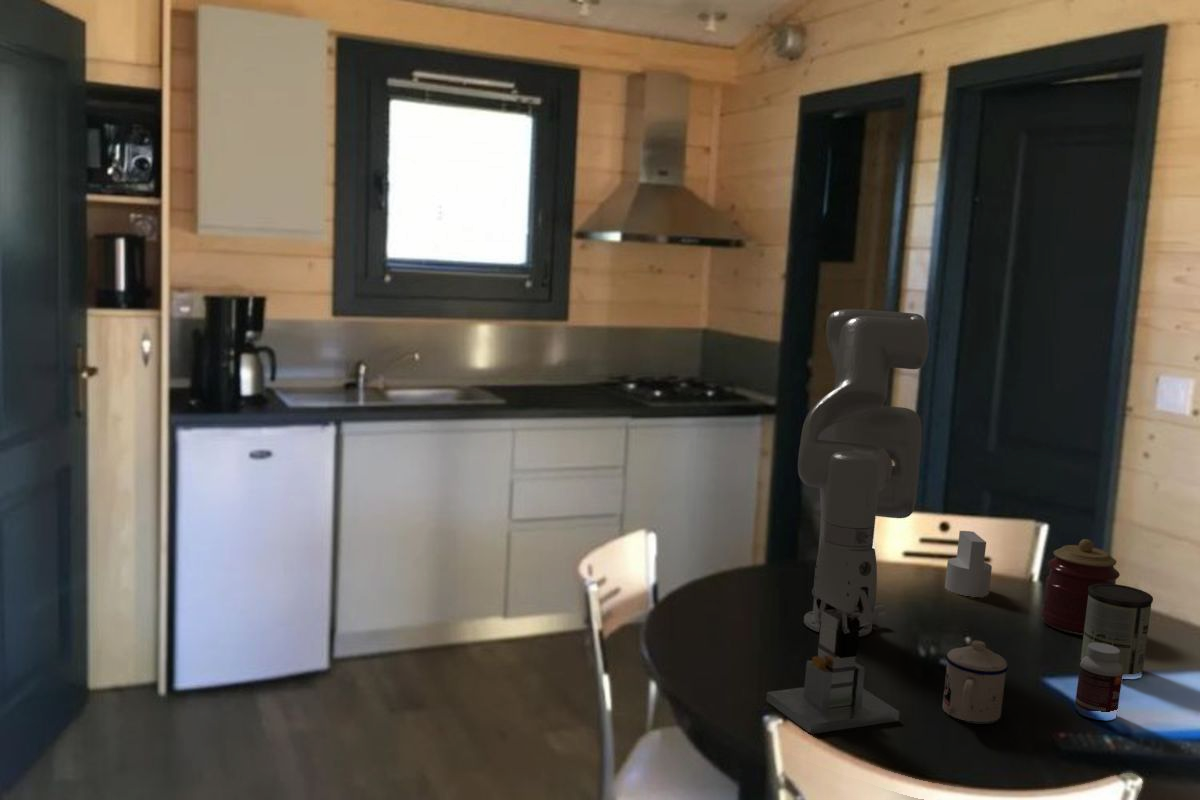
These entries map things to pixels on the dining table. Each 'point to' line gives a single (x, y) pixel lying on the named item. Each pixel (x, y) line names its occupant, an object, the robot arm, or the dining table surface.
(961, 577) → the cylinder with rectangular tab
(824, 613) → the column
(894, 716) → the stand
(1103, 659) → the pill bottle
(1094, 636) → the coffee can
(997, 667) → the teacup with lid
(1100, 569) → the canister
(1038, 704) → the dining table surface
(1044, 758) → the dining table surface
